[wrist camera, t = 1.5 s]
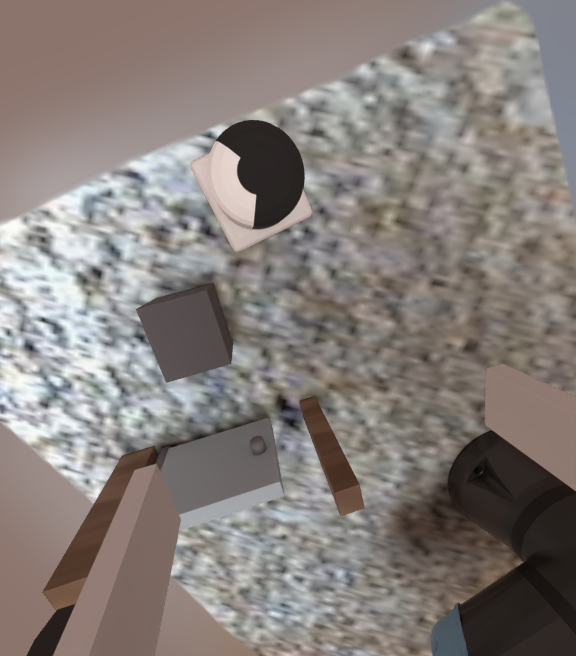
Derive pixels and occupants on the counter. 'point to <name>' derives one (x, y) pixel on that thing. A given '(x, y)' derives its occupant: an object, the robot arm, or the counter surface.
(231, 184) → the medicine bottle
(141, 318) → the dark grey block
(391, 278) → the counter surface
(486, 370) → the robot arm
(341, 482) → the doorframe
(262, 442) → the door
